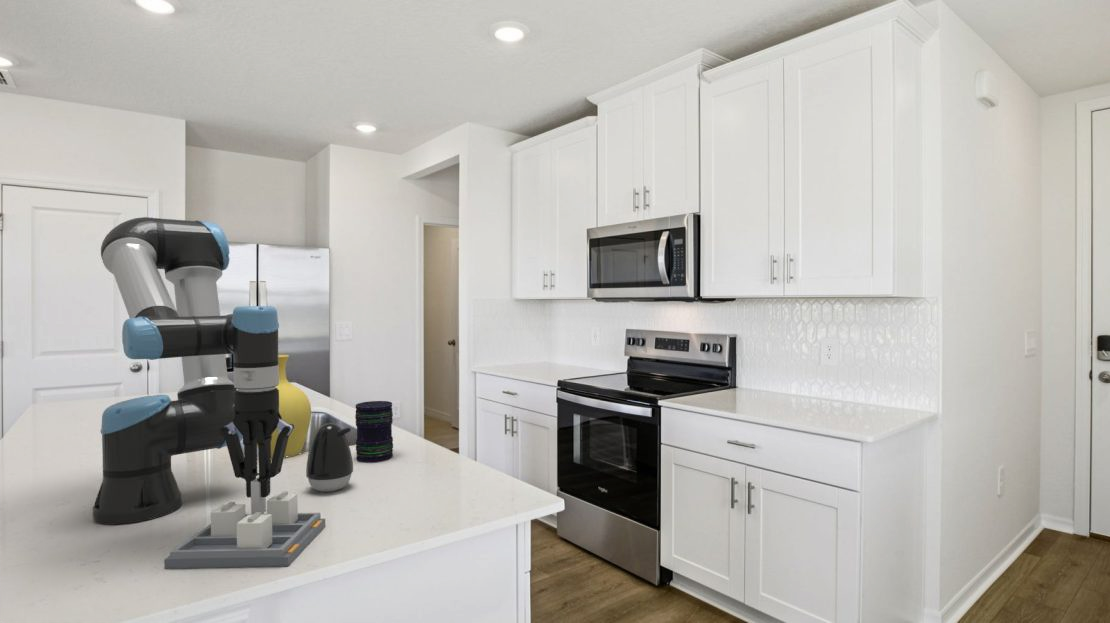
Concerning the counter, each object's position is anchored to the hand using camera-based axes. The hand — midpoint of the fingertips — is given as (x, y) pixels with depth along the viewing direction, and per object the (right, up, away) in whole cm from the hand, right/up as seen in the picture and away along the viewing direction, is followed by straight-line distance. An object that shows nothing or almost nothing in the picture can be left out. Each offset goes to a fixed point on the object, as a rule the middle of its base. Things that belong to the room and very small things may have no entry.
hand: (258, 513), depth 111 cm
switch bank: (+1, -4, -6) cm, 7 cm away
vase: (-22, -3, +57) cm, 62 cm away
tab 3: (+4, -2, 0) cm, 5 cm away
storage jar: (+6, -3, +52) cm, 53 cm away
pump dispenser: (+4, -3, +26) cm, 26 cm away
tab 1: (-3, -2, -6) cm, 7 cm away
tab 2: (+5, -2, -11) cm, 12 cm away
